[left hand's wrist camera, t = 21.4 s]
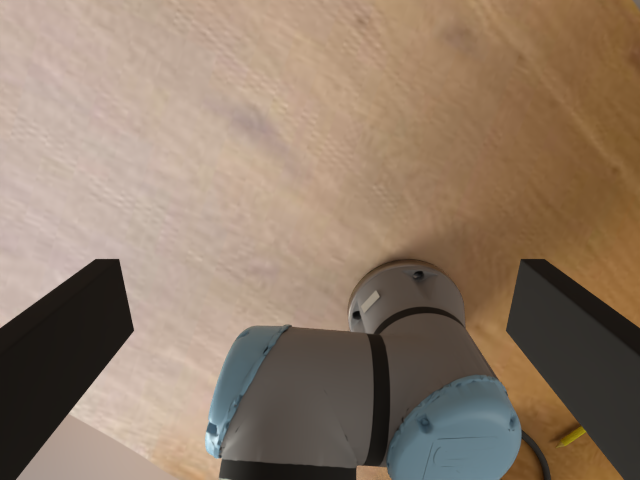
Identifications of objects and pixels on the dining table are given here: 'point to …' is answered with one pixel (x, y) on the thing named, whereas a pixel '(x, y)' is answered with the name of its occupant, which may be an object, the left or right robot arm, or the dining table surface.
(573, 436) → the pencil
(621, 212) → the dining table surface
